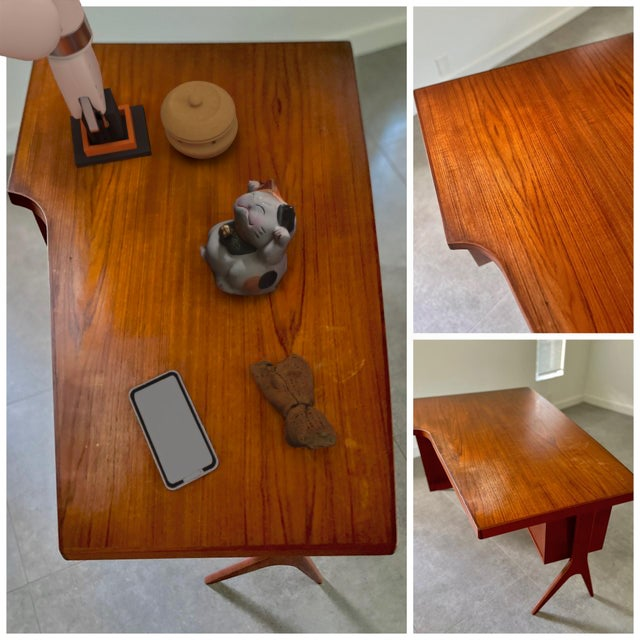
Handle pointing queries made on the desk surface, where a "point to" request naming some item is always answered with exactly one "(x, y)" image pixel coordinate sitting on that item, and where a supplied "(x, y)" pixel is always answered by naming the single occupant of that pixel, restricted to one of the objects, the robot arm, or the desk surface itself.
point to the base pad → (113, 151)
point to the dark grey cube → (108, 116)
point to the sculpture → (294, 401)
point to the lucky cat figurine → (252, 242)
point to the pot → (199, 119)
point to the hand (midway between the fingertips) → (105, 126)
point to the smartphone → (173, 430)
